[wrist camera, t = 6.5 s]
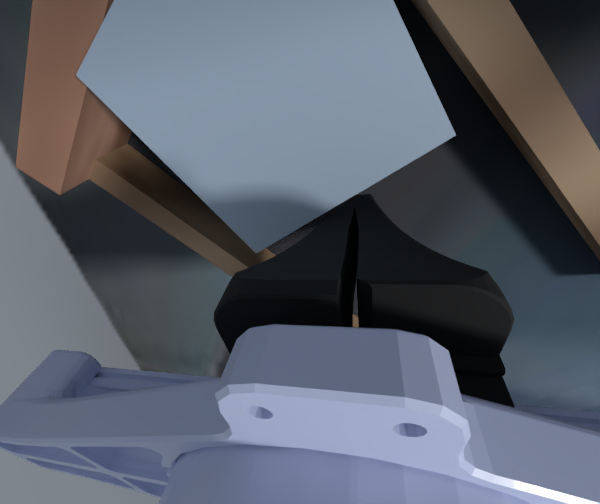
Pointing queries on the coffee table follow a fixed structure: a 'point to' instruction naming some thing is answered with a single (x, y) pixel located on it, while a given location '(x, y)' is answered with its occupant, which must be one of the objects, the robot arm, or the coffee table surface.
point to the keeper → (268, 100)
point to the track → (197, 214)
